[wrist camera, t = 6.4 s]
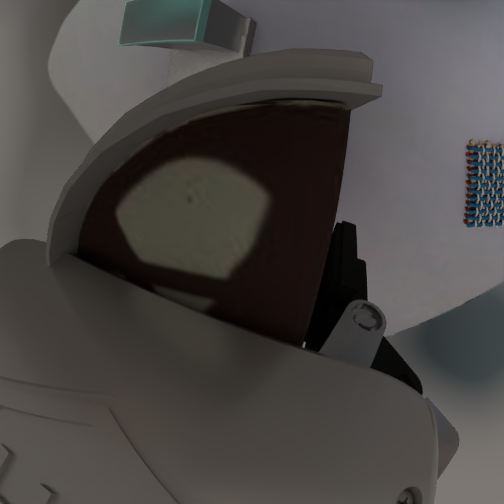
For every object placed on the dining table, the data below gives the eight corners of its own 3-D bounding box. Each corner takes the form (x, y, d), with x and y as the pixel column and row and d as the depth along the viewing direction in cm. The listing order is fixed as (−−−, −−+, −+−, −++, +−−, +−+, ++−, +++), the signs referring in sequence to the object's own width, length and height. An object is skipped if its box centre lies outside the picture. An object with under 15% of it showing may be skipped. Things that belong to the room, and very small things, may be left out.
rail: (256, 22, 20) (250, 18, 19) (223, 211, 34) (217, 218, 32) (187, 20, 21) (178, 17, 20) (168, 195, 35) (160, 201, 33)
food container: (203, 70, 10) (-20, 106, 2) (343, 77, 9) (388, 16, 1) (211, 280, 17) (129, 417, 10) (307, 301, 16) (263, 467, 8)
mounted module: (246, 17, 19) (205, -10, 11) (239, 53, 21) (194, 40, 14) (182, 16, 19) (126, 1, 12) (175, 50, 22) (118, 45, 15)
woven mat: (521, 222, 21) (528, 229, 20) (460, 224, 25) (466, 232, 24) (528, 143, 16) (536, 148, 15) (463, 138, 20) (470, 141, 19)
